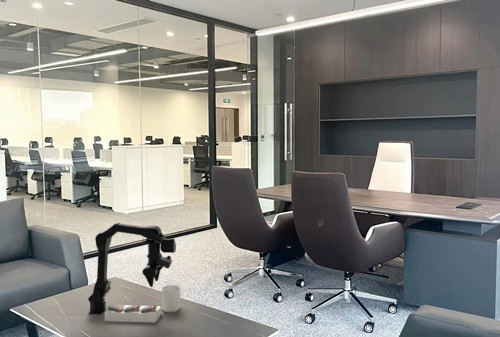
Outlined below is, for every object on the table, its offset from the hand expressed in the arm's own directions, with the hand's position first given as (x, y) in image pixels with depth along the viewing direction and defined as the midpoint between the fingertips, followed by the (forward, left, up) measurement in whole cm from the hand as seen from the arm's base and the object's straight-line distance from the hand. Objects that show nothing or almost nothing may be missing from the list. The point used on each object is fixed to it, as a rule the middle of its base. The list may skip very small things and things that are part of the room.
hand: (154, 283), depth 210 cm
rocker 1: (-16, -8, -10) cm, 21 cm away
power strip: (-8, -6, -15) cm, 18 cm away
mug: (+8, +7, -15) cm, 18 cm away
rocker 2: (-8, -8, -10) cm, 15 cm away
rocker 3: (0, -8, -10) cm, 13 cm away
